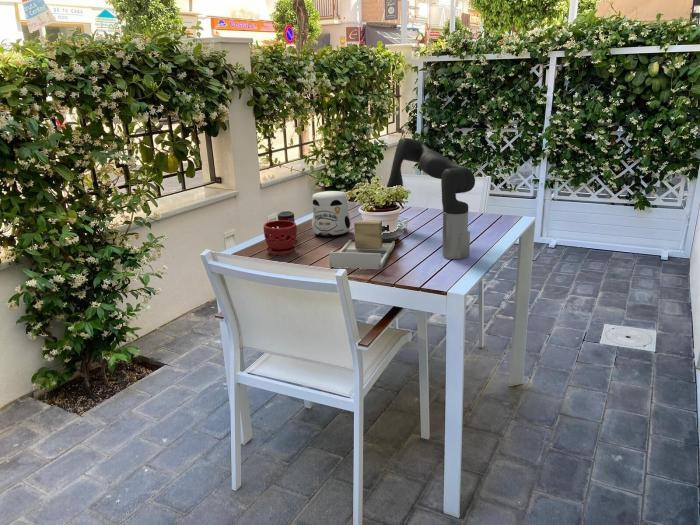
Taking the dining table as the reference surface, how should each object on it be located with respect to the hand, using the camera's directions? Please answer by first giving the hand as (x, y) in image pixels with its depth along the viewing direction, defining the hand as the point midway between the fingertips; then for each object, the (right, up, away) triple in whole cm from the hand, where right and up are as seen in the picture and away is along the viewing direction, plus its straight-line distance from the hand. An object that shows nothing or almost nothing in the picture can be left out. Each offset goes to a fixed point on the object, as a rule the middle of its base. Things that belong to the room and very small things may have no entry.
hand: (369, 231), depth 217 cm
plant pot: (-36, -9, +2) cm, 37 cm away
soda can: (-35, -3, +18) cm, 40 cm away
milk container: (-16, 0, +24) cm, 29 cm away
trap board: (-2, -10, -8) cm, 13 cm away
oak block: (0, -6, 0) cm, 6 cm away
